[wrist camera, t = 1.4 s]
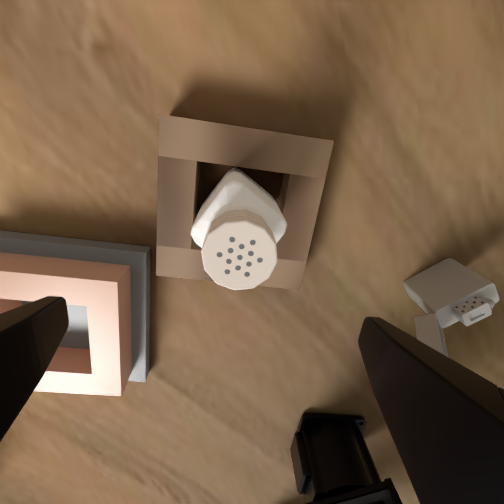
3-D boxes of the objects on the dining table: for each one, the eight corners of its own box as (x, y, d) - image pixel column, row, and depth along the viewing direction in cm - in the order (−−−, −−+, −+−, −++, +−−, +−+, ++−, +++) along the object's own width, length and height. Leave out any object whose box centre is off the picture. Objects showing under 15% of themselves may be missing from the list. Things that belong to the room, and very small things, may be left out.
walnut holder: (322, 139, 20) (334, 140, 17) (293, 273, 23) (299, 289, 21) (168, 116, 19) (159, 113, 16) (164, 260, 22) (155, 275, 20)
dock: (150, 246, 22) (135, 268, 18) (149, 371, 26) (136, 407, 23) (-26, 227, 21) (-77, 246, 17) (4, 361, 25) (-32, 398, 22)
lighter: (450, 256, 23) (549, 314, 16) (457, 272, 24) (554, 336, 17) (368, 299, 25) (425, 372, 17) (376, 314, 25) (434, 390, 18)
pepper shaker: (233, 162, 20) (231, 188, 11) (277, 199, 21) (307, 250, 12) (198, 208, 21) (171, 264, 12) (242, 240, 22) (246, 314, 13)
